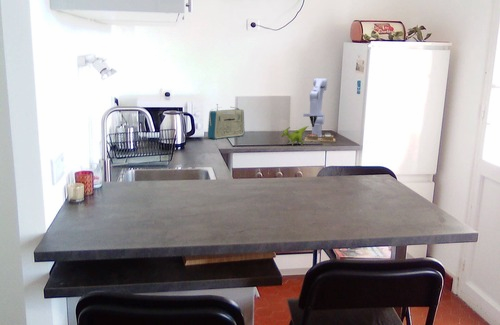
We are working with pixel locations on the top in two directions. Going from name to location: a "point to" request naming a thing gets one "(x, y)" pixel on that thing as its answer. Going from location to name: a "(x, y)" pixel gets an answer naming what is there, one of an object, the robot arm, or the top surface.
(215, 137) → the radio
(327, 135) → the grey plug
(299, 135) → the toy
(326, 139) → the socket panel
